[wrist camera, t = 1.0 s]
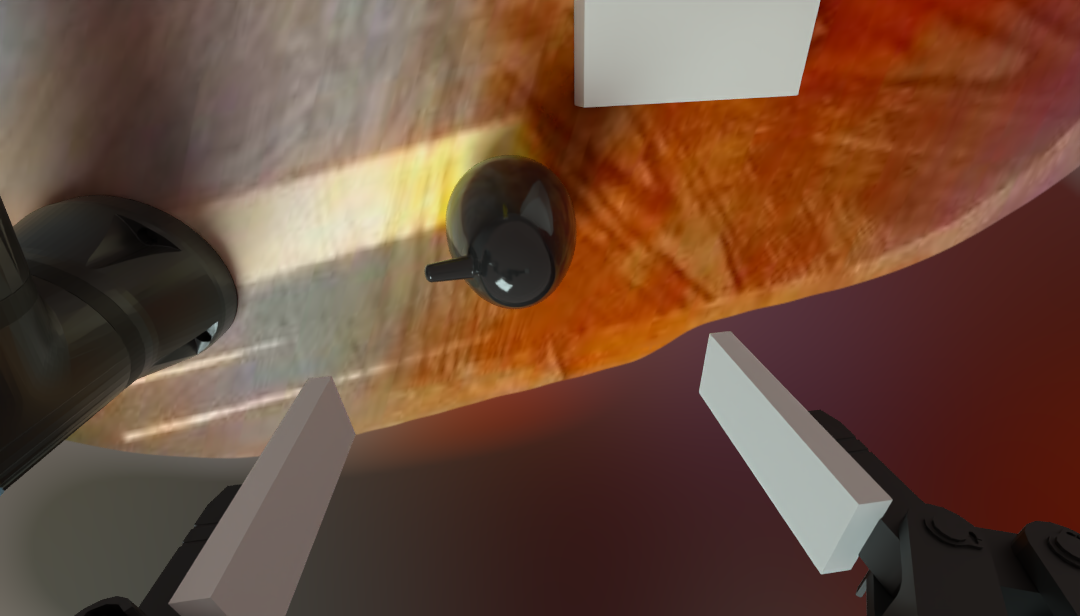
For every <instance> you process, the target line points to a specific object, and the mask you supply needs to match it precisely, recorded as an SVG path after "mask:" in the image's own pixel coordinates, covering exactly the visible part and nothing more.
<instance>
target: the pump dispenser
mask: <svg viewBox="0 0 1080 616" xmlns="http://www.w3.org/2000/svg"><path fill="white" fill-rule="evenodd" d="M576 235H577V230H576V219H575V212H574V208H573V204H572V201H571V198H570V196H569V194H568V192H567V190H566V188H565V186H564V185H563V183H562V182H561V181H560V179H559V178H558V177H557V176H556V175H555V174H554V173H553V172H552V171H551V170H550V169H549V168H547V167H546V166H544V165H543V164H541V163H539V162H537V161H535V160H532V159H530V158H526V157H522V156H515V155H504V156H497V157H493V158H489V159H487V160H484V161H482V162H480V163H478V164H476V165H475V166H473V167H472V168H471V169H469V170H468V171H467V172H466V173H465V174H464V175H463V176H462V177H461V179H460V180H459V181H458V183H457V184H456V186H455V188H454V189H453V191H452V194H451V196H450V199H449V202H448V206H447V211H446V236H447V242H448V247H449V251H450V254H451V257H452V259H449V260H444V261H440V262H436V263H431V264H428V265H426V267H425V276H426V279H427V280H428V281H429V282H441V281H451V280H462V279H464V280H465V282H466V283H467V284H468V285H469V286H470V287H471V289H472V290H473V291H474V292H475V293H477V294H478V295H479V296H480V297H481V298H483V299H484V300H486V301H487V302H489V303H491V304H493V305H496V306H498V307H502V308H507V309H523V308H528V307H531V306H534V305H536V304H538V303H540V302H542V301H543V300H545V299H546V298H547V297H549V296H550V295H551V294H552V293H553V292H554V291H555V290H556V288H557V287H558V286H559V285H560V283H561V282H562V280H563V278H564V277H565V275H566V273H567V271H568V269H569V267H570V264H571V262H572V259H573V255H574V251H575V246H576Z"/></svg>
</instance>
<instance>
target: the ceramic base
mask: <svg viewBox="0 0 1080 616" xmlns="http://www.w3.org/2000/svg"><path fill="white" fill-rule="evenodd" d="M819 4H820V0H574V105H576V106H580V107H584V108H586V107H603V106H620V105H637V104H655V103H672V102H689V101H707V100H724V99H741V98H759V97H776V96H793V95H798V92H799V87H800V83H801V79H802V75H803V71H804V67H805V62H806V58H807V54H808V50H809V46H810V42H811V38H812V33H813V29H814V25H815V21H816V17H817V13H818V8H819Z"/></svg>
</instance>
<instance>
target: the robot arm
mask: <svg viewBox="0 0 1080 616" xmlns="http://www.w3.org/2000/svg"><path fill="white" fill-rule="evenodd" d="M236 309H237V295H236V290H235V286H234V283H233V280H232V277H231V275H230V273H229V271H228V269H227V267H226V266H225V264H224V263H223V261H222V260H221V258H220V257H219V256H218V254H217V253H216V252H215V251H214V249H213V248H212V247H211V246H210V245H209V244H208V243H207V242H206V241H205V240H204V239H203V238H202V237H201V236H199V235H198V234H197V233H196V232H195V231H193V230H192V229H191V228H189V227H188V226H187V225H185V224H184V223H182V222H181V221H179V220H177V219H176V218H174V217H172V216H170V215H169V214H167V213H165V212H163V211H161V210H158V209H156V208H154V207H151V206H149V205H146V204H143V203H140V202H137V201H133V200H130V199H125V198H120V197H114V196H101V195H95V196H83V197H77V198H73V199H70V200H66V201H62V202H59V203H55V204H51V205H48V206H45V207H42V208H40V209H38V210H36V211H34V212H32V213H30V214H29V215H27V216H26V217H24V218H23V219H22V220H20V221H19V222H18V223H17V224H16V225H14V226H12V224H11V221H10V219H9V216H8V214H7V211H6V209H5V206H4V204H3V201H2V199H1V196H0V496H1V494H3V493H4V491H5V490H6V489H7V488H8V487H10V485H12V484H13V483H14V482H16V481H17V480H18V479H19V478H20V477H21V476H23V475H24V474H25V473H26V472H27V471H29V470H30V469H31V468H32V467H33V466H34V465H36V464H37V463H38V462H39V461H40V460H41V459H43V458H44V457H45V456H46V455H47V454H49V453H50V452H51V451H52V450H53V449H55V448H56V447H57V446H58V445H59V444H60V443H62V442H63V441H64V440H65V439H66V438H68V437H69V436H70V435H71V434H72V433H74V432H75V431H76V430H77V429H78V428H79V427H81V426H82V425H83V424H84V423H85V422H87V421H88V420H89V419H90V418H91V417H92V416H94V415H95V414H96V413H97V412H98V411H100V410H101V409H102V408H103V407H104V406H105V405H107V404H108V403H109V402H110V401H111V400H113V399H114V398H115V397H116V396H117V395H118V394H119V393H121V392H122V391H123V390H124V389H125V388H127V387H128V386H129V385H130V384H132V383H133V382H134V381H135V380H137V379H139V378H141V377H144V376H147V375H149V374H152V373H154V372H157V371H159V370H162V369H164V368H167V367H169V366H172V365H174V364H177V363H179V362H182V361H184V360H187V359H189V358H192V357H194V356H196V355H198V354H200V353H201V352H203V351H205V350H206V349H208V348H209V347H210V346H211V345H212V344H213V343H215V342H216V341H217V340H218V339H219V338H220V337H221V336H222V335H223V334H224V333H225V332H226V331H227V330H228V329H229V327H230V326H231V324H232V322H233V320H234V317H235V314H236ZM699 393H700V395H701V396H702V398H703V399H704V401H705V402H706V404H707V405H708V407H709V408H710V410H711V411H712V413H713V414H714V415H715V417H716V419H717V420H718V422H719V423H720V425H721V426H722V427H723V429H724V430H725V432H726V433H727V435H728V436H729V438H730V439H731V441H732V442H733V444H734V445H735V447H736V448H737V450H738V451H739V453H740V454H741V456H742V457H743V459H744V460H745V461H746V463H747V465H748V466H749V468H750V469H751V471H752V472H753V474H754V475H755V476H756V478H757V480H758V481H759V483H760V484H761V485H762V487H763V489H764V490H765V492H766V493H767V494H768V496H769V497H770V499H771V500H772V502H773V503H774V505H775V506H776V508H777V509H778V511H779V512H780V514H781V515H782V517H783V518H784V520H785V521H786V523H787V524H788V526H789V527H790V529H791V530H792V532H793V533H794V535H795V536H796V538H797V539H798V541H799V542H800V544H801V545H802V546H803V548H804V549H805V551H806V552H807V554H808V556H809V557H810V558H811V560H812V561H813V563H814V565H815V566H816V567H817V569H818V570H819V572H820V573H821V574H826V573H832V572H839V571H846V570H851V568H852V566H853V564H854V563H855V561H856V560H857V558H858V557H859V556H860V557H861V559H862V560H863V561H864V563H865V564H866V565H867V567H868V568H869V571H868V572H867V574H866V576H865V577H864V579H863V580H862V582H861V583H860V585H859V586H858V589H857V592H856V595H857V596H859V597H862V596H863V594H864V592H865V591H866V593H867V616H1080V534H1079V533H1077V532H1075V531H1073V530H1071V529H1069V528H1066V527H1063V526H1060V525H1057V524H1054V523H1051V522H1041V521H1035V522H1032V523H1029V524H1027V525H1026V526H1025V527H1024V528H1023V529H1022V530H1021V531H1020V532H1019V533H1018V534H1015V533H1009V532H1003V531H996V530H990V529H984V528H978V527H974V526H973V525H972V524H970V523H969V522H967V521H966V520H965V519H963V518H962V517H960V516H959V515H957V514H955V513H953V512H951V511H949V510H947V509H945V508H942V507H938V506H935V505H931V504H925V503H924V502H923V501H922V500H920V499H919V498H918V497H917V496H916V495H915V494H914V493H913V492H912V491H911V490H910V489H909V488H908V487H907V486H906V485H905V484H904V483H903V482H902V481H901V480H900V479H899V478H898V477H896V476H895V475H894V474H893V473H892V472H891V471H890V470H889V469H888V468H887V467H886V466H885V465H884V464H883V463H882V462H881V461H880V460H879V459H878V458H877V457H876V456H875V455H874V454H873V453H872V452H869V451H868V448H867V447H865V445H863V444H862V443H861V442H860V441H859V440H856V438H855V436H854V435H853V434H852V433H851V432H850V431H849V430H848V429H847V428H846V427H845V426H844V425H843V424H842V423H841V422H839V421H838V420H836V419H835V418H833V417H831V416H829V415H828V414H826V413H825V412H823V411H821V410H814V411H807V410H806V409H805V408H804V407H803V406H802V405H801V404H800V403H799V402H798V401H797V400H796V399H795V398H794V397H793V396H792V395H791V393H789V391H787V389H786V388H785V387H784V386H783V385H782V384H781V383H780V382H779V381H778V380H777V379H776V378H775V377H774V376H773V375H772V374H771V373H770V372H769V371H768V370H767V369H766V368H765V367H764V366H763V365H762V363H761V362H760V361H759V360H758V359H757V358H756V357H755V356H754V355H753V354H752V353H751V352H750V351H749V350H748V349H747V348H746V347H745V346H744V345H743V344H742V343H741V342H740V341H739V340H738V339H737V338H736V337H735V335H734V334H733V333H732V332H730V331H728V332H719V333H710V335H709V340H708V346H707V351H706V356H705V362H704V368H703V374H702V379H701V384H700V390H699ZM354 437H355V432H354V429H353V427H352V425H351V422H350V420H349V417H348V415H347V412H346V410H345V408H344V405H343V403H342V400H341V398H340V395H339V393H338V390H337V388H336V386H335V383H334V381H333V378H332V376H328V377H319V378H310V379H308V380H307V381H306V383H305V385H304V386H303V388H302V389H301V391H300V393H299V394H298V396H297V397H296V399H295V401H294V402H293V404H292V405H291V407H290V409H289V410H288V412H287V413H286V415H285V417H284V418H283V420H282V421H281V423H280V425H279V426H278V428H277V430H276V431H275V433H274V434H273V436H272V438H271V439H270V441H269V442H268V444H267V446H266V447H265V449H264V450H263V452H262V454H261V455H260V457H259V459H258V460H257V462H256V463H255V465H254V466H253V468H252V470H251V471H250V473H249V475H248V476H247V478H246V479H245V481H244V483H243V484H241V485H233V486H227V487H226V488H225V489H224V490H223V491H222V492H221V493H220V494H219V495H218V496H217V497H216V498H214V499H213V501H211V502H210V503H209V504H208V505H207V507H206V508H205V510H204V511H203V513H202V514H201V516H200V517H199V518H198V520H197V521H196V523H195V525H194V529H191V531H190V532H189V534H188V535H187V536H186V538H185V539H184V541H183V542H182V543H183V545H182V546H181V547H179V548H178V550H177V551H176V553H175V554H174V556H173V557H172V559H171V560H170V561H169V563H168V564H167V566H166V567H165V569H164V570H163V572H162V573H161V575H160V576H159V578H158V579H157V581H156V582H155V584H154V585H153V587H152V588H151V590H150V591H149V593H148V594H147V596H146V597H145V599H144V600H143V602H142V603H141V604H140V606H139V607H137V606H136V605H135V604H134V603H132V602H131V601H130V600H129V599H128V598H123V597H119V596H116V597H112V598H107V599H103V600H100V601H98V602H96V603H94V604H92V605H91V606H88V607H87V608H85V609H83V610H81V611H80V612H79V613H77V614H76V615H75V616H285V614H286V612H287V609H288V607H289V604H290V602H291V599H292V596H293V594H294V591H295V589H296V586H297V584H298V581H299V578H300V576H301V573H302V571H303V568H304V566H305V563H306V560H307V558H308V555H309V553H310V550H311V547H312V545H313V542H314V540H315V537H316V534H317V532H318V529H319V527H320V524H321V522H322V519H323V517H324V514H325V512H326V509H327V506H328V504H329V501H330V498H331V496H332V494H333V491H334V488H335V486H336V483H337V481H338V478H339V475H340V473H341V470H342V467H343V465H344V462H345V460H346V457H347V455H348V452H349V450H350V447H351V445H352V442H353V439H354Z"/></svg>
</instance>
